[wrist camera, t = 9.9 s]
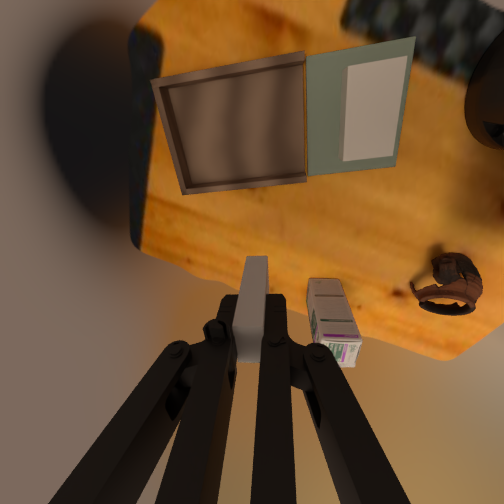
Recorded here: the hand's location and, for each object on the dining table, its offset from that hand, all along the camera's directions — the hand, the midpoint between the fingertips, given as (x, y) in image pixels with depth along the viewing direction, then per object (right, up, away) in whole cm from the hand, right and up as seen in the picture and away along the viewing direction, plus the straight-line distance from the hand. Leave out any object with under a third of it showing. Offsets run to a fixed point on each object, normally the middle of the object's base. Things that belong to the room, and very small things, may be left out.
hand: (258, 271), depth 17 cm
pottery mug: (+32, -2, +24) cm, 40 cm away
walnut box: (-2, +19, +16) cm, 25 cm away
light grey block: (+14, +19, +13) cm, 27 cm away
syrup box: (+13, -6, +29) cm, 32 cm away
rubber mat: (+13, +19, +14) cm, 27 cm away
